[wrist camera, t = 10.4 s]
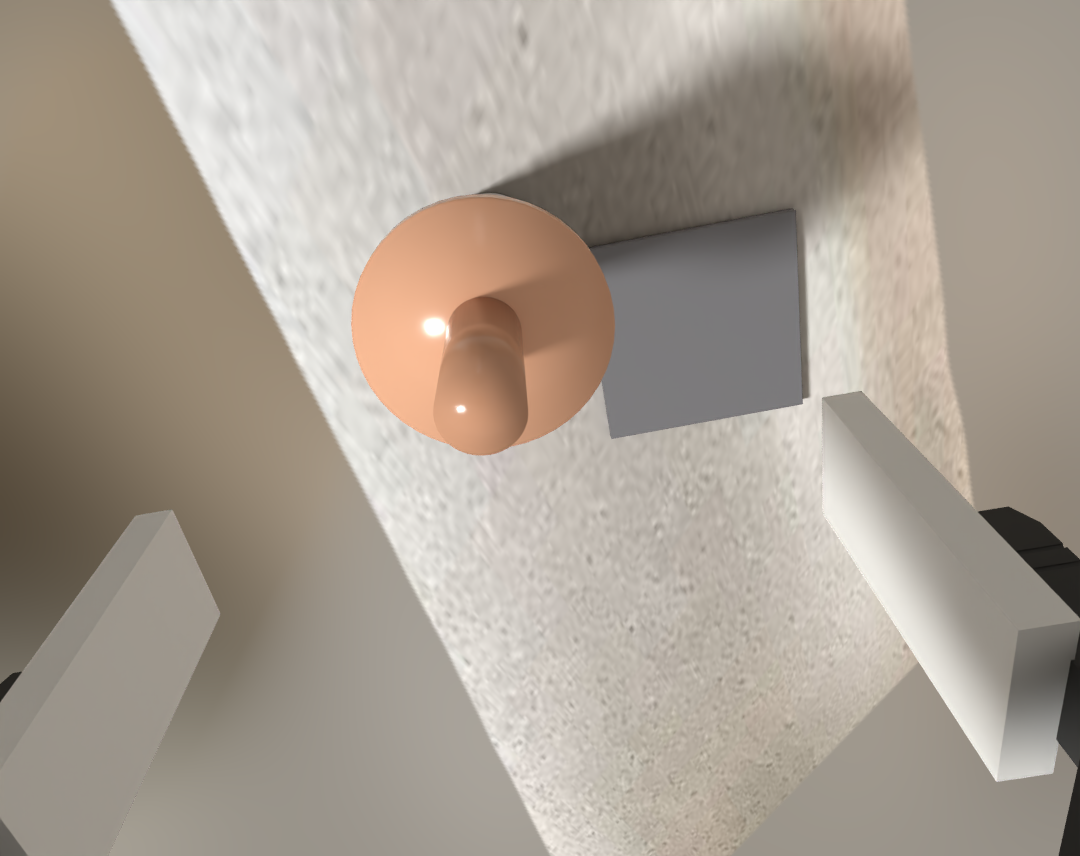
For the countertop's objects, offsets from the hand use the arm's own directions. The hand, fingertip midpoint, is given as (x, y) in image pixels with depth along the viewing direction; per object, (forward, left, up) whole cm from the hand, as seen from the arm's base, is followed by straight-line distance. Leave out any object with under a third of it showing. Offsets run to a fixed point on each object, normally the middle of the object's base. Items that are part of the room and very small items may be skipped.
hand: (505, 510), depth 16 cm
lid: (+3, -1, -20) cm, 20 cm away
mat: (+11, +11, -35) cm, 38 cm away
